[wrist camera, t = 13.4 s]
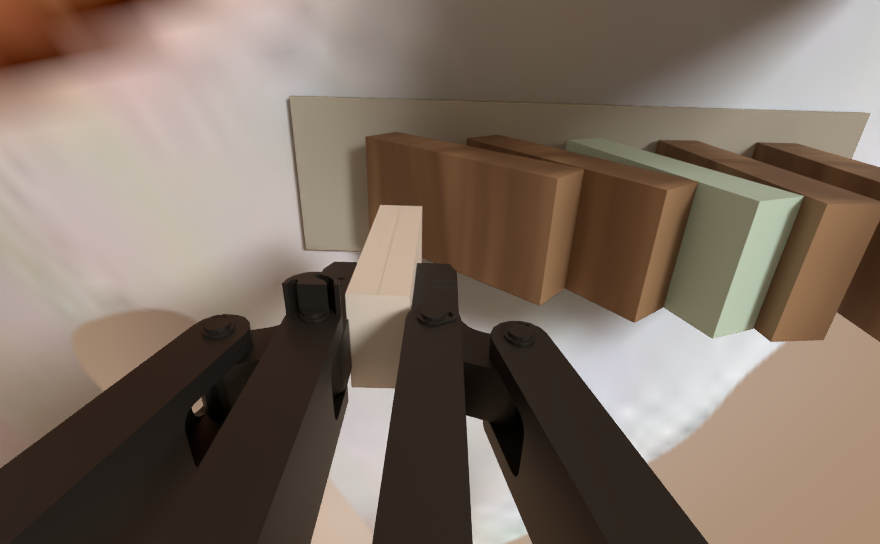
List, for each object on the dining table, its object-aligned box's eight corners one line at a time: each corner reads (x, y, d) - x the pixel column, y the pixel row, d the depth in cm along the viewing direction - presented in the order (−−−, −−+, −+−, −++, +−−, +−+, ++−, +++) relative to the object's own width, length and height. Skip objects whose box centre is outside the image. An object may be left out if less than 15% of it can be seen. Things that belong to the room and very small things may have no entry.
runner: (307, 247, 26) (305, 249, 26) (291, 95, 23) (289, 96, 22) (804, 261, 26) (807, 263, 26) (865, 112, 23) (870, 113, 23)
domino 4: (726, 235, 25) (881, 342, 16) (756, 142, 23) (953, 206, 14) (763, 237, 25) (937, 343, 16) (797, 143, 23) (1018, 207, 14)
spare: (553, 236, 25) (712, 338, 16) (567, 139, 23) (759, 201, 14) (584, 232, 25) (752, 328, 17) (601, 138, 23) (804, 196, 15)
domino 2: (461, 236, 24) (634, 322, 17) (466, 138, 22) (667, 190, 15) (490, 229, 25) (663, 307, 18) (497, 134, 23) (698, 181, 16)
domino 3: (636, 234, 25) (770, 342, 16) (658, 139, 23) (827, 203, 14) (671, 234, 25) (823, 339, 16) (696, 140, 23) (887, 203, 14)
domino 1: (369, 236, 24) (539, 305, 18) (365, 136, 22) (557, 178, 16) (397, 226, 25) (564, 288, 19) (396, 131, 23) (584, 169, 17)
